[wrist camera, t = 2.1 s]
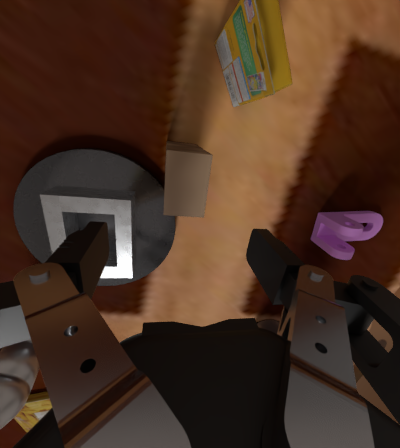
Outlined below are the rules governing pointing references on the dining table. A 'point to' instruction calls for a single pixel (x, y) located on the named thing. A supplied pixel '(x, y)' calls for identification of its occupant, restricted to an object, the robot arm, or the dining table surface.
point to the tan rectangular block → (186, 179)
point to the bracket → (344, 231)
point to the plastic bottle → (16, 378)
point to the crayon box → (254, 51)
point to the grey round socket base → (96, 210)
